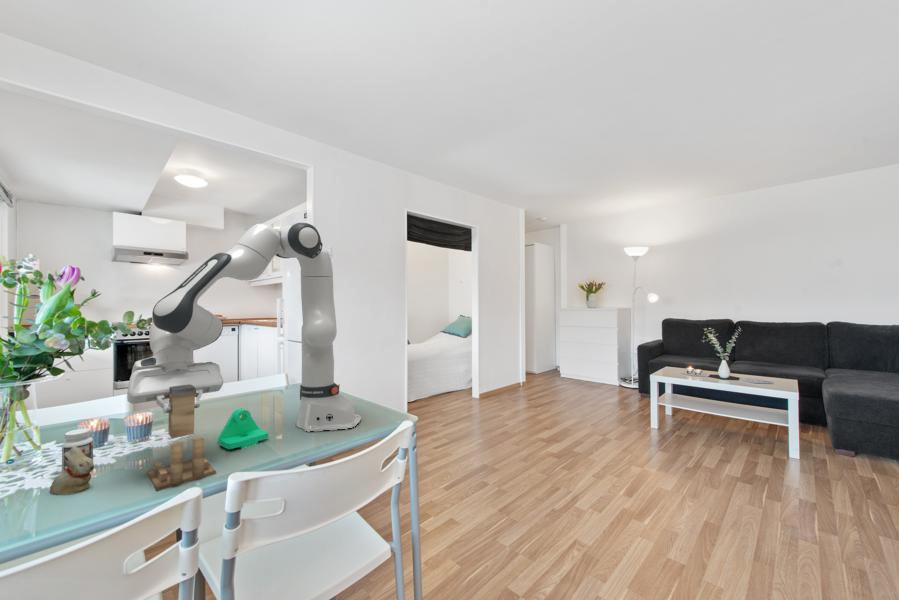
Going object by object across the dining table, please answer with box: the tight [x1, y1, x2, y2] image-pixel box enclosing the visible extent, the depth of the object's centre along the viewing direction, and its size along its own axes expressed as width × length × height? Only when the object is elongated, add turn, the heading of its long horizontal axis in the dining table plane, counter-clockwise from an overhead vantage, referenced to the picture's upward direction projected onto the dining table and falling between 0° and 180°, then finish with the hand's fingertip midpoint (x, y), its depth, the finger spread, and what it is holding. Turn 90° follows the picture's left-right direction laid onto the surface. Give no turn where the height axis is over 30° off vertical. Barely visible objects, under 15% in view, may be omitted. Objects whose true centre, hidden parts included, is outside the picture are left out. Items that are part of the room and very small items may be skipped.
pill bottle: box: [61, 428, 94, 473], centre depth 95 cm, size 6×6×10 cm
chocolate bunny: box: [49, 447, 95, 495], centre depth 85 cm, size 6×8×10 cm
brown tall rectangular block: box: [167, 384, 196, 439], centre depth 94 cm, size 4×4×12 cm
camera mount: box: [216, 407, 269, 450], centre depth 114 cm, size 12×8×10 cm, turn 144°
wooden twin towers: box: [147, 436, 217, 492], centre depth 93 cm, size 13×12×10 cm
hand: (182, 409), depth 93 cm, fingers closed on brown tall rectangular block, 4 cm apart
